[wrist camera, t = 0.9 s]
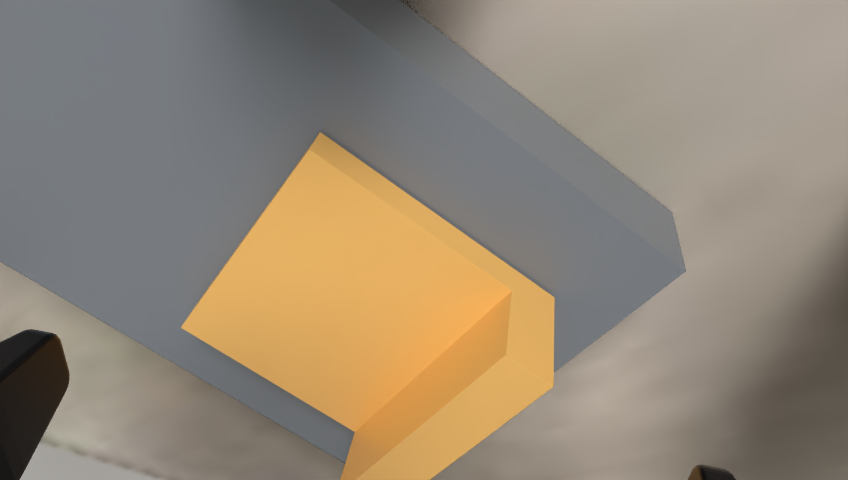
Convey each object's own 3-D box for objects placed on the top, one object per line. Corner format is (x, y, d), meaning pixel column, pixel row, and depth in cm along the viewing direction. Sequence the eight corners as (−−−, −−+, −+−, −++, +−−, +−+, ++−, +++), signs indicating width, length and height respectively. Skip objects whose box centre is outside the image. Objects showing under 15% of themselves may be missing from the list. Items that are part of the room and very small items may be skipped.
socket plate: (671, 212, 22) (686, 271, 19) (410, 431, 29) (396, 493, 27) (71, -257, 17) (-10, -257, 15) (-57, 144, 25) (-126, 187, 22)
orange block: (554, 297, 20) (553, 386, 18) (397, 431, 25) (375, 520, 22) (320, 131, 19) (276, 201, 16) (194, 306, 23) (141, 386, 20)
